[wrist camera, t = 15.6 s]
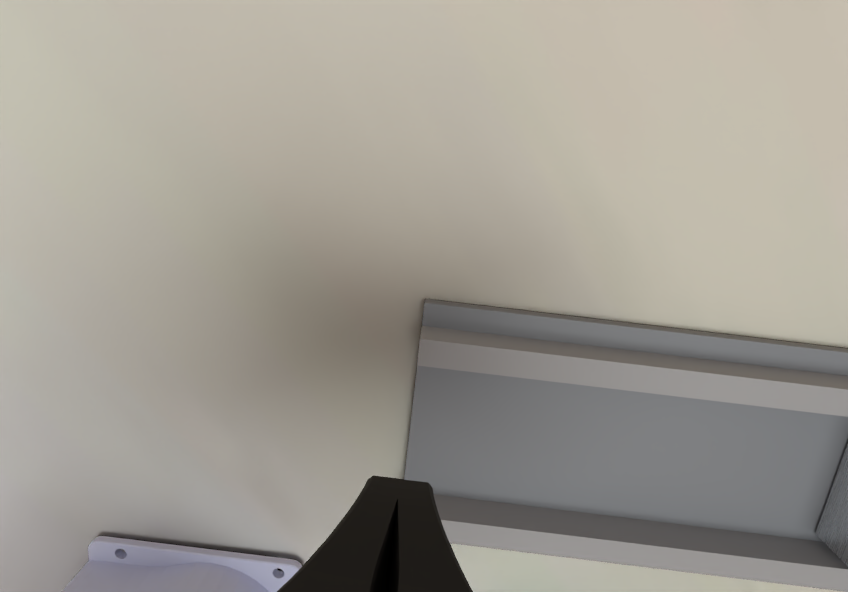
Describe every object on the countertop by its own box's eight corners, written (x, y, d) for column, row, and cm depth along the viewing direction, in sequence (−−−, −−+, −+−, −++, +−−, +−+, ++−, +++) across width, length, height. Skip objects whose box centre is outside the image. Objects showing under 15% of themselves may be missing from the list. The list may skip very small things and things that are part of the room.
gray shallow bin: (399, 519, 22) (391, 586, 19) (425, 298, 20) (420, 327, 16) (919, 583, 22) (1009, 662, 19) (1014, 368, 19) (1137, 412, 16)
